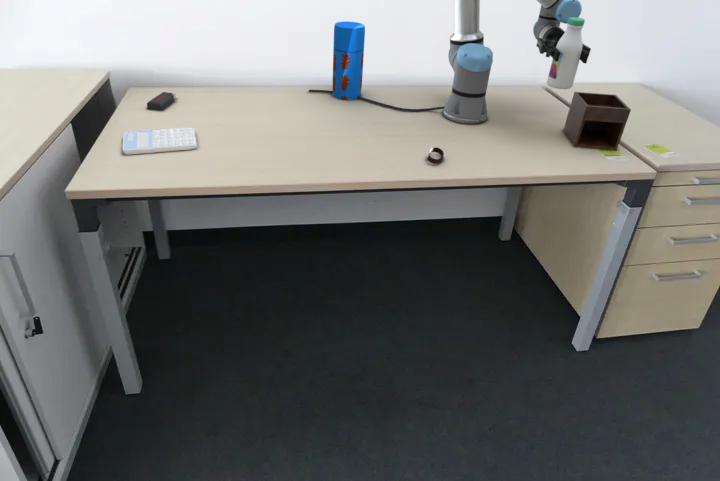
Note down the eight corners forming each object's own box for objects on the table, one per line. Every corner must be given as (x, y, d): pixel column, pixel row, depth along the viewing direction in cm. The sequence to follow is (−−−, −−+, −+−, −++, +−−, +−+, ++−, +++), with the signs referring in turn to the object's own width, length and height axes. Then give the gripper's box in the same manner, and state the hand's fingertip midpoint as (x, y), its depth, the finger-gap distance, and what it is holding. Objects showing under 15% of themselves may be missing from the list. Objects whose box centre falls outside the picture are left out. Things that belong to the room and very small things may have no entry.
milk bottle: (573, 84, 168) (591, 17, 157) (570, 91, 162) (589, 22, 151) (548, 80, 171) (565, 14, 159) (544, 87, 165) (561, 18, 154)
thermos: (357, 101, 194) (361, 29, 180) (329, 98, 195) (331, 26, 181) (363, 92, 203) (367, 23, 188) (336, 88, 204) (338, 20, 190)
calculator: (197, 149, 153) (196, 143, 152) (122, 155, 147) (121, 149, 146) (194, 131, 164) (193, 125, 162) (124, 136, 158) (123, 130, 157)
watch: (430, 153, 160) (432, 142, 158) (445, 156, 159) (447, 145, 157) (423, 163, 154) (424, 151, 152) (439, 166, 153) (440, 155, 151)
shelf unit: (574, 146, 170) (586, 106, 163) (563, 130, 182) (574, 91, 174) (616, 150, 170) (631, 109, 162) (603, 133, 181) (616, 94, 174)
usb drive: (147, 109, 176) (146, 101, 175) (164, 97, 186) (163, 89, 185) (162, 111, 176) (160, 103, 174) (178, 99, 186) (177, 91, 184)
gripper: (581, 52, 178) (603, 72, 159) (519, 48, 178) (534, 68, 159) (587, 28, 173) (611, 47, 155) (524, 24, 174) (540, 42, 155)
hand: (572, 57), depth 157 cm, fingers closed on milk bottle, 8 cm apart
